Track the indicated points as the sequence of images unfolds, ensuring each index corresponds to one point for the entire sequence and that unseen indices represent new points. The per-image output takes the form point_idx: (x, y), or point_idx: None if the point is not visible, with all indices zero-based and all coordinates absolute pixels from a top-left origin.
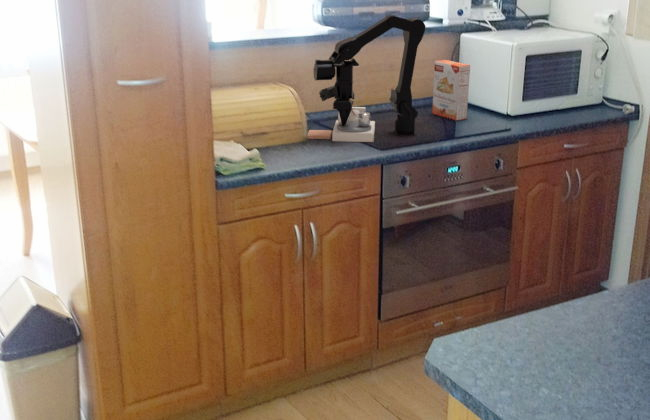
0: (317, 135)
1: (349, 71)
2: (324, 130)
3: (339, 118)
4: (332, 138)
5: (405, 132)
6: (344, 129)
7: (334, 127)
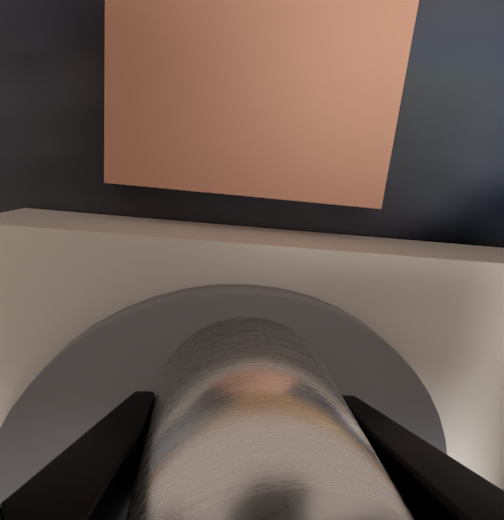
0: (131, 2)
1: None
2: (386, 115)
3: (176, 421)
4: (6, 212)
5: None
6: (15, 410)
7: (273, 252)
